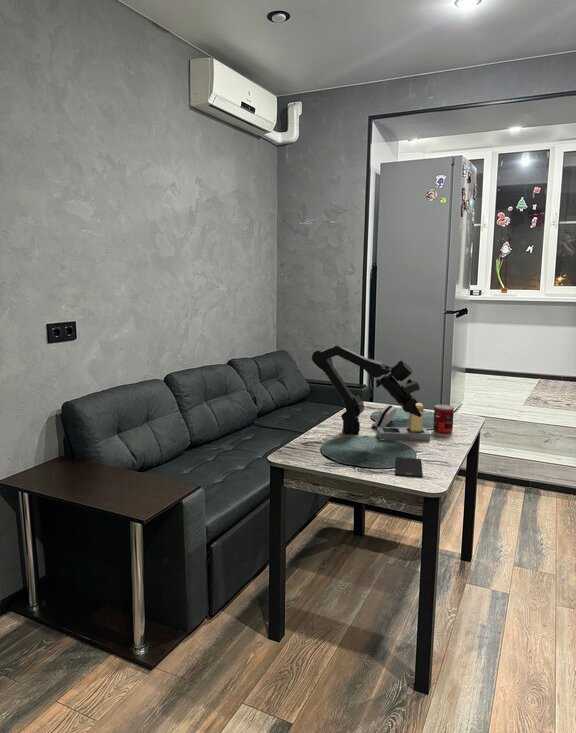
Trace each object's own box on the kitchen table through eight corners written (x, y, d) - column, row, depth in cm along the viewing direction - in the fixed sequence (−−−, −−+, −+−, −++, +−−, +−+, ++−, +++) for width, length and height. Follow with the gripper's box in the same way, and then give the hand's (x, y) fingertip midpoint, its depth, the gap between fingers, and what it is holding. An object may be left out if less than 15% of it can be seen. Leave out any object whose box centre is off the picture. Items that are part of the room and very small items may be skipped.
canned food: (433, 428, 235) (435, 403, 233) (452, 430, 232) (454, 405, 230) (432, 432, 227) (433, 407, 226) (452, 434, 225) (453, 409, 223)
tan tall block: (410, 431, 217) (412, 405, 216) (408, 428, 222) (409, 402, 220) (422, 432, 217) (423, 405, 216) (419, 428, 222) (421, 403, 220)
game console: (381, 419, 249) (389, 400, 246) (391, 423, 247) (399, 404, 244) (370, 427, 234) (378, 407, 231) (380, 432, 232) (388, 412, 229)
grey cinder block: (380, 440, 216) (380, 433, 215) (376, 434, 225) (377, 427, 224) (429, 441, 216) (430, 433, 215) (424, 434, 224) (425, 427, 224)
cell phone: (395, 476, 177) (395, 473, 177) (395, 459, 194) (396, 456, 194) (422, 479, 175) (422, 476, 175) (420, 461, 193) (421, 458, 192)
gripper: (413, 378, 207) (440, 406, 208) (403, 370, 225) (428, 396, 227) (391, 397, 208) (418, 426, 210) (384, 388, 227) (409, 414, 228)
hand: (419, 414), depth 219 cm, fingers closed on tan tall block, 4 cm apart
